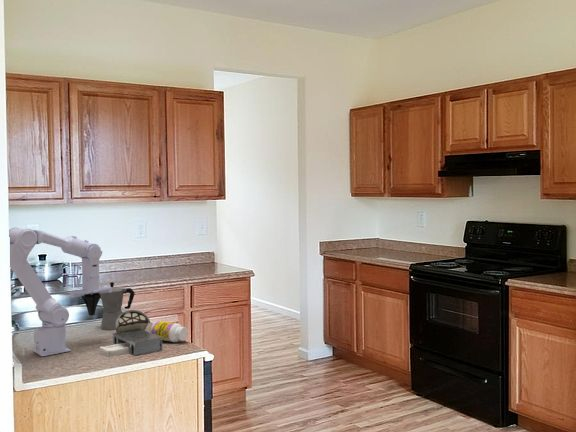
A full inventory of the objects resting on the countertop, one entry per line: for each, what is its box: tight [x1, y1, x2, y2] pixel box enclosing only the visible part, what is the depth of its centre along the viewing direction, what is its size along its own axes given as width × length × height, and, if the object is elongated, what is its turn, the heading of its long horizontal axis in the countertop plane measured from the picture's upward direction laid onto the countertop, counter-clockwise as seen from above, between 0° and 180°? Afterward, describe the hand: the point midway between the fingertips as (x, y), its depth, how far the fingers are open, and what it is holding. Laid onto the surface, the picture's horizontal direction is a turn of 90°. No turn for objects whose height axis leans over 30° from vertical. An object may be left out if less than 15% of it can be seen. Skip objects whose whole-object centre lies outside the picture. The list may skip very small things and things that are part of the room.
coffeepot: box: [99, 281, 135, 331], centre depth 226 cm, size 15×9×18 cm, turn 90°
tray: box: [99, 342, 130, 358], centre depth 193 cm, size 12×6×2 cm, turn 132°
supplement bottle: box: [150, 320, 189, 343], centre depth 205 cm, size 7×7×13 cm
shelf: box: [112, 329, 163, 357], centre depth 197 cm, size 10×16×4 cm, turn 42°
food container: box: [115, 309, 151, 333], centre depth 207 cm, size 12×6×10 cm
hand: (91, 314), depth 204 cm, fingers closed
